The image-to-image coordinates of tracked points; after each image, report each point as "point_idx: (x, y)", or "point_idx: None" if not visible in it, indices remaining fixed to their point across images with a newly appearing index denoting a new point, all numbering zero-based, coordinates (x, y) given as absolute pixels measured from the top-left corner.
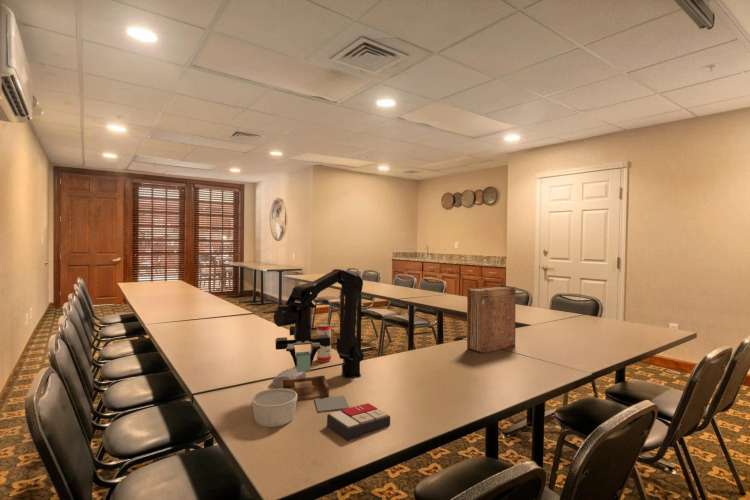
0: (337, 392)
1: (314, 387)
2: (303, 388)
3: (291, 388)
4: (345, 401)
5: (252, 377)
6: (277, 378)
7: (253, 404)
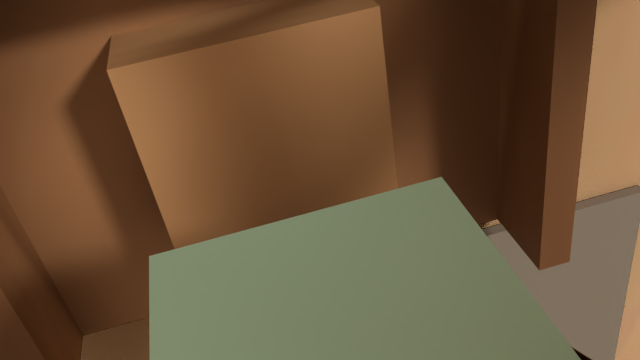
0: (616, 83)
1: (393, 3)
2: None
3: (61, 28)
4: (618, 290)
5: None
6: None
7: None
